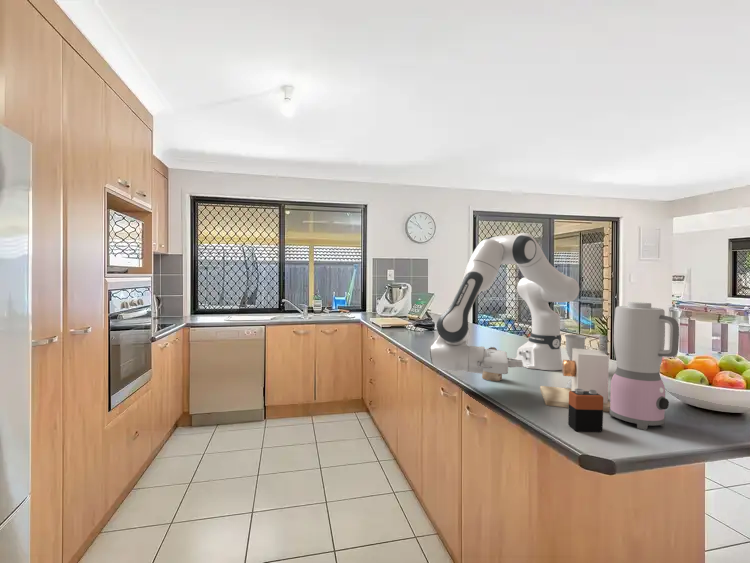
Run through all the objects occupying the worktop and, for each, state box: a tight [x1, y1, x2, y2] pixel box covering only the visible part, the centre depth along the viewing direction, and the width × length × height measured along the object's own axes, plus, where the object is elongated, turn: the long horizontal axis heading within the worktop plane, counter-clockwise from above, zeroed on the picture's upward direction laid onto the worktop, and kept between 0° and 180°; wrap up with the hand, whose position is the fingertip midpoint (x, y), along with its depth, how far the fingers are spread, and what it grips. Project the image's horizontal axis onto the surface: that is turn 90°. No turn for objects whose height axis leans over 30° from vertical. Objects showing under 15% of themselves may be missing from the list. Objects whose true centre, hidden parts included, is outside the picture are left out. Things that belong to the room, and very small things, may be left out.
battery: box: [567, 389, 604, 433], centre depth 98 cm, size 4×7×10 cm, turn 89°
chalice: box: [564, 334, 587, 389], centre depth 135 cm, size 7×7×18 cm
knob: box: [561, 359, 576, 378], centre depth 120 cm, size 9×5×5 cm, turn 72°
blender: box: [609, 301, 680, 430], centre depth 102 cm, size 16×12×32 cm
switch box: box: [570, 348, 610, 404], centre depth 119 cm, size 8×10×14 cm
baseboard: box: [539, 385, 610, 413], centre depth 120 cm, size 18×16×2 cm
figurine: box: [481, 346, 503, 382], centre depth 144 cm, size 7×7×12 cm
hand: (522, 363), depth 125 cm, fingers closed
